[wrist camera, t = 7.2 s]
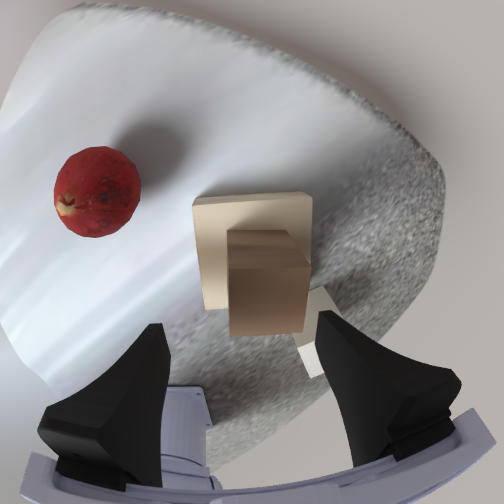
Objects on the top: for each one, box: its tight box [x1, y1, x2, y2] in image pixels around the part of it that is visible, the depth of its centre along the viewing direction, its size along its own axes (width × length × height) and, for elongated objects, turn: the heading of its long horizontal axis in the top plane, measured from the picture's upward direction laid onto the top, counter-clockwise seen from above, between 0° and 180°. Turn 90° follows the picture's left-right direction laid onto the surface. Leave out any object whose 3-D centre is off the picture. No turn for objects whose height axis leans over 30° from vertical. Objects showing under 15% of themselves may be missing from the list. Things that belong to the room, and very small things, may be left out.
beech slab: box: [192, 191, 313, 310], centre depth 21 cm, size 8×8×3 cm
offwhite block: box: [292, 285, 344, 378], centre depth 22 cm, size 4×4×6 cm
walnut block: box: [227, 230, 312, 337], centre depth 17 cm, size 4×4×6 cm
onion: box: [54, 146, 141, 238], centre depth 15 cm, size 6×6×8 cm
